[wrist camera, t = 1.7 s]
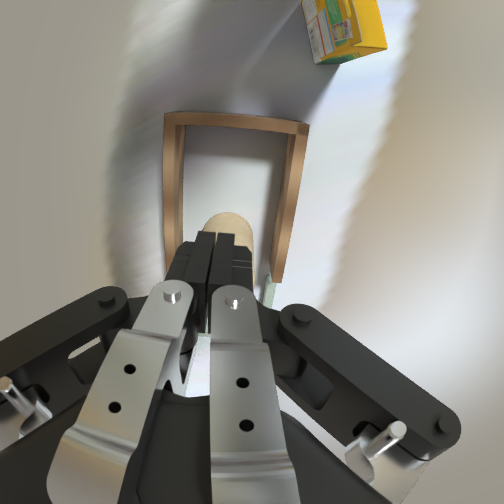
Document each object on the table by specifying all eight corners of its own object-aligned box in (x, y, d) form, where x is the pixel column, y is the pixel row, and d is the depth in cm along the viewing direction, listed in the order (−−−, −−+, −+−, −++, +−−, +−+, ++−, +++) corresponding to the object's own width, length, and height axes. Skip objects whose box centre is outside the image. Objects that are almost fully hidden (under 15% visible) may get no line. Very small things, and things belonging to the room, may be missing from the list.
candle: (235, 264, 32) (231, 326, 24) (193, 240, 31) (175, 299, 22) (262, 228, 30) (269, 286, 21) (219, 202, 28) (207, 251, 20)
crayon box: (343, 64, 21) (403, 47, 11) (314, 64, 21) (359, 43, 11) (329, 2, 17) (376, -43, 7) (300, 1, 17) (333, -50, 7)
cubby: (176, 111, 23) (164, 113, 20) (300, 121, 24) (309, 124, 21) (174, 253, 31) (166, 273, 28) (277, 262, 32) (281, 283, 29)
